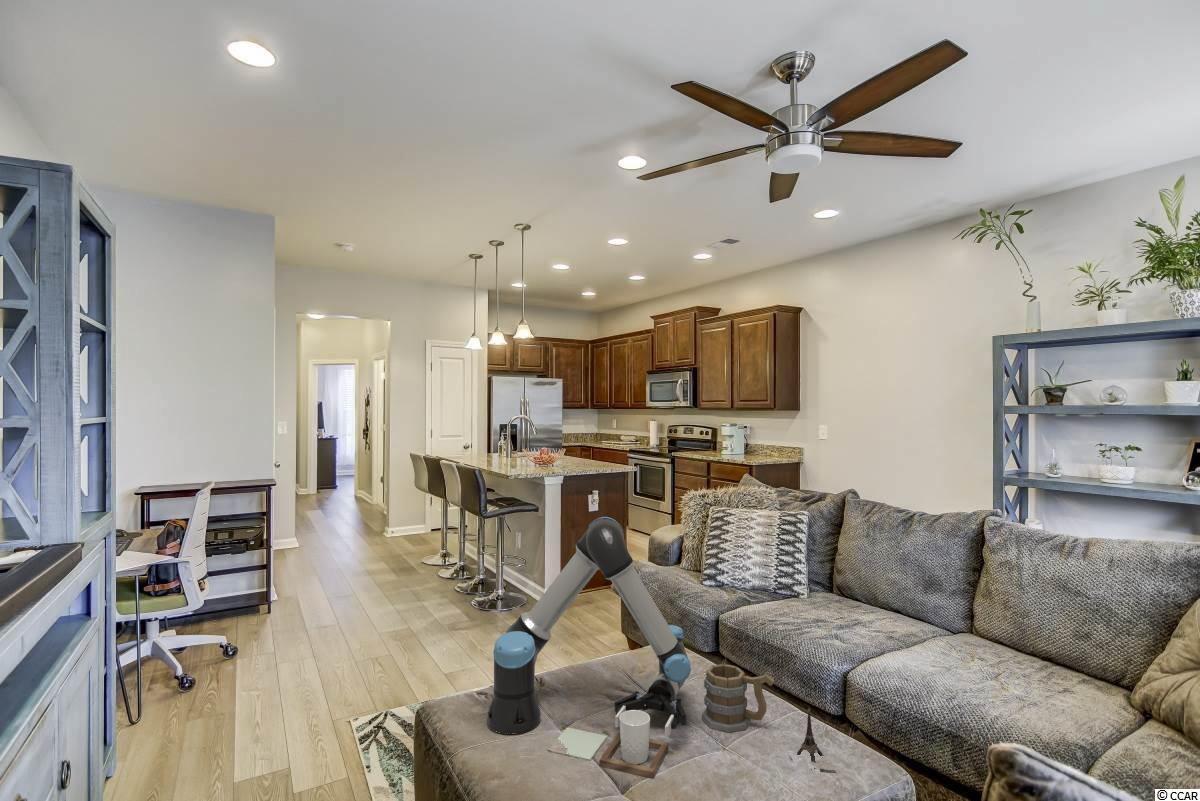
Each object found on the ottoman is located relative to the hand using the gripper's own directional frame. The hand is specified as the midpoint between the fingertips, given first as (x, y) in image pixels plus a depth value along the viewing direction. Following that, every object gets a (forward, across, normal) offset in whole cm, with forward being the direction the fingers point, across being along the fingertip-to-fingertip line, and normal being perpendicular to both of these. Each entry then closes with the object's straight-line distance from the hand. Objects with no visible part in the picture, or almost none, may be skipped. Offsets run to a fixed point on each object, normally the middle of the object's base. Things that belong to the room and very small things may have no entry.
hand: (640, 727), depth 152 cm
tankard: (-24, -22, -7) cm, 33 cm away
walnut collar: (+3, +1, -6) cm, 7 cm away
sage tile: (+3, +17, -6) cm, 18 cm away
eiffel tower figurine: (-15, -40, -7) cm, 44 cm away
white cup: (+3, +1, -7) cm, 7 cm away
